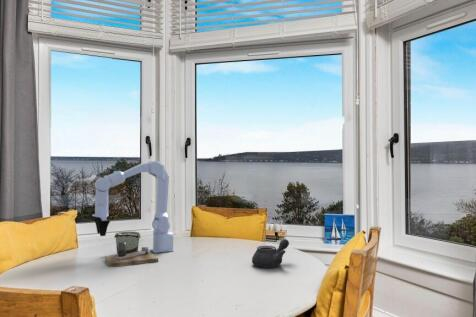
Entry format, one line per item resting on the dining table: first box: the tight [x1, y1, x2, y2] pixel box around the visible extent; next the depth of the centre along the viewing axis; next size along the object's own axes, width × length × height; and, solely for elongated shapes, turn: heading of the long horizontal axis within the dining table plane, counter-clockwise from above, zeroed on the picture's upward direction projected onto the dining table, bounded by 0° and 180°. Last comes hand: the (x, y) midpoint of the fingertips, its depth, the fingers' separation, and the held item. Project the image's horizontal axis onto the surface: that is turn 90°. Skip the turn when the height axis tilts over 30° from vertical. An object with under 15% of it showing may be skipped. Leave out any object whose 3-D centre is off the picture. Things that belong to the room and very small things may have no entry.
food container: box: [114, 231, 141, 256], centre depth 182 cm, size 12×6×10 cm, turn 84°
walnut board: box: [105, 252, 159, 268], centre depth 168 cm, size 20×12×2 cm, turn 118°
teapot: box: [251, 238, 290, 269], centre depth 165 cm, size 19×16×10 cm
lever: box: [115, 242, 150, 260], centre depth 170 cm, size 16×3×7 cm, turn 146°
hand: (101, 234), depth 175 cm, fingers open, 7 cm apart
